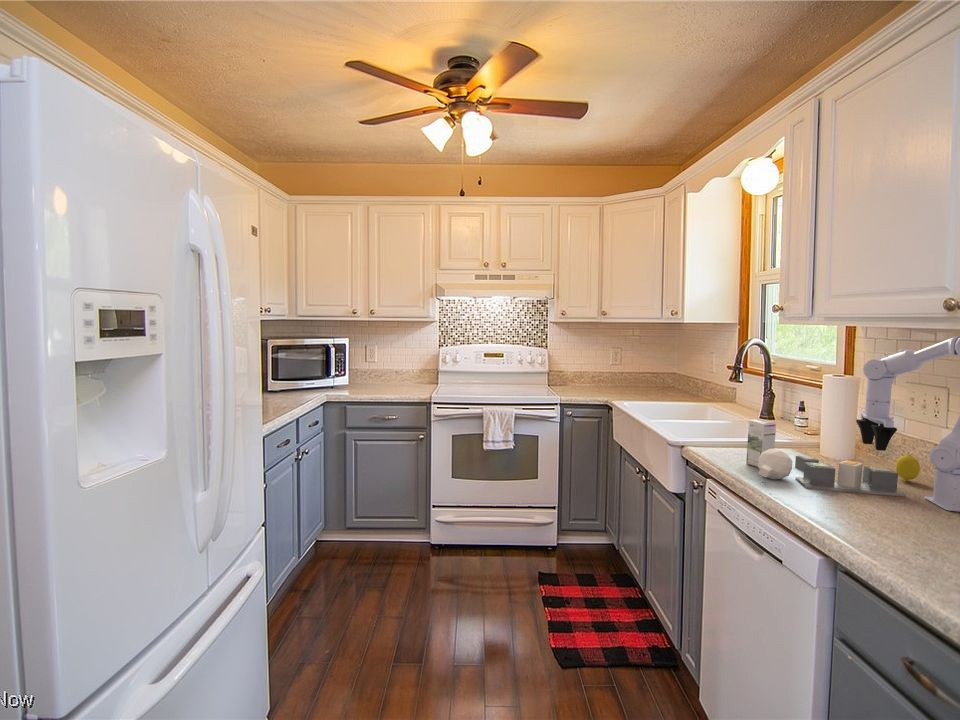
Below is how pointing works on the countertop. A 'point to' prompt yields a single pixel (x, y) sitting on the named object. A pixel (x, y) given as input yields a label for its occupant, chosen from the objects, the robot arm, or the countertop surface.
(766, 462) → the beige faceted rounded lump
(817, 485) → the rail
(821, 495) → the countertop surface
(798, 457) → the relay block
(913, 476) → the lemon
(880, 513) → the countertop surface
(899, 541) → the countertop surface
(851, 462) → the block
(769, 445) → the syrup box
